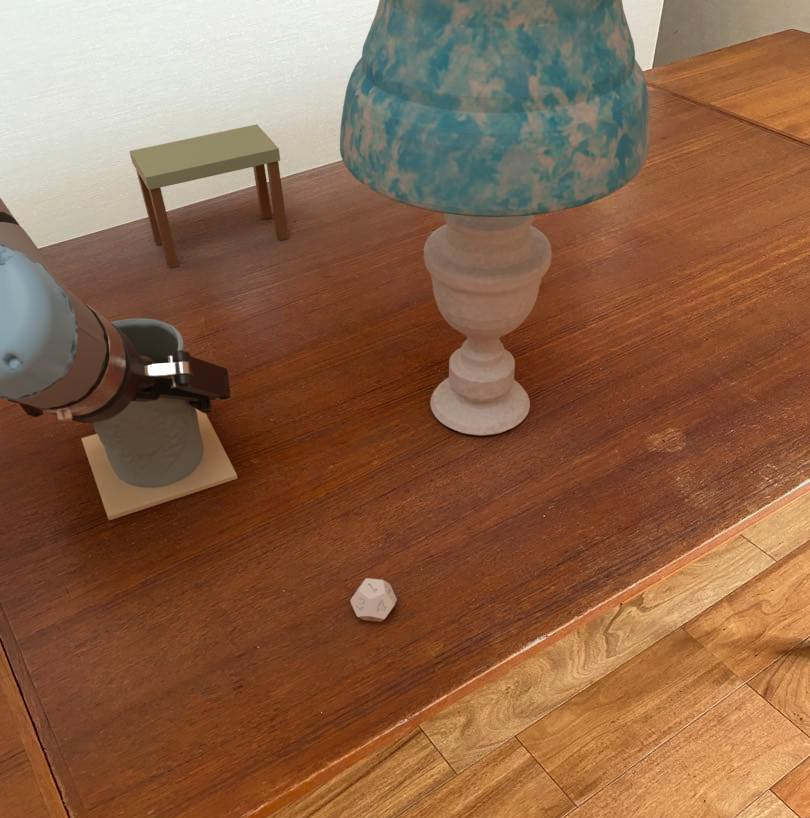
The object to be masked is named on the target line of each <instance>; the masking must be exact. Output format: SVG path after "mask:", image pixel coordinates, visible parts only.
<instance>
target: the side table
mask: <svg viewBox="0 0 810 818" xmlns="http://www.w3.org/2000/svg"><path fill="white" fill-rule="evenodd" d="M129 155H130V159H131V163H132V165H133V167H134V168H135V171H136V175H137V179H138V183H139V186H140V191H141V194H142V198H143V202H144V206H145V211H146V213H147V217H148V222H149V225H150V230H151V234H152V237H153V242H154V243H155V245H156V246H160V245H162V249H163V252H164V256H165V260H166V264H167V266H168V268H169V269H173V268H177V267H180V264H179V259H178V256H177V251H176V247H175V242H174V238H173V235H172V231H171V230H172V229H171V226H170V222H169V217H168V213H167V209H166V205H165V200H164V198H163V193H162V189H161V188H164V187H168V186H169V187H170V186H173V185H178V184H182V183H183V184H184V183H187V182H191V181H195V180H200V179H201V180H202V179H205V178H209V177H214V176H218V175H223V174H227V173H231V172H236V171H240V170H241V171H242V170H246V169H249V168H253V175H254V181H255V187H256V188H255V189H256V194H257V201H258V207H259V212H260V217H261V218H262V219H263V220H267V219H271V218H273V219H274V225H275V232H276V237H277V239H278V240H279V241H285V240H288V239H289V230H288V224H287V216H286V215H287V214H286V209H285V201H284V193H283V186H282V185H283V184H282V179H281V172H280V171H281V170H280V163H279V162H280V161H281V154H280V148H279V147H278V146H277V144H276V143H275V142H273V140H272V139H271V138H270V137H269V136H268V134H267V133H266V132H265V131H264V130H263V129H262V128H261V127H260V126H259V125H258V124H252V125H251V124H250V125H247V126H242V127H239V128H232V129H228V130H227V129H226V130H224V131H219V132H214V133H208V134H204V135H199V136H195V137H189V138H184V139H180V140H176V141H170V142H166V143H160V144H156V145H151V146H146V147H143V148H138V149H133V150H129ZM265 165H266V166H265ZM266 170H267V173H266ZM267 177H268V180H267ZM268 184H269V187H268ZM269 192H270V194H269ZM270 197H271V200H270ZM271 204H272V207H271ZM272 211H273V213H272ZM159 244H160V245H159Z"/></svg>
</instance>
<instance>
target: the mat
mask: <svg viewBox="0 0 810 818" xmlns="http://www.w3.org/2000/svg"><path fill="white" fill-rule="evenodd" d="M195 409H196V408H195ZM196 412H197V417H198V422H199V428H200V433H201V437H202V442H203V456H202V459H201V462H200V464H199V465H198V466H197V468H196V469H195V470H194V471H193V472H192V473H191V474H189V475H188V476H187V477H185V478H183V479H182V480H180V481H177V482H175V483H172V484H170V485H166V486H162V487H153V488H151V487H149V488H147V487H138V486H134V485H130V484H128V483H125V482H124V481H123V480H120V479H119V477H118V476H117V475H116V473H115V472H114V470H113V468H112V466H111V464H110V462H109V460H108V457H107V454H106V451H105V448H104V446H103V444H102V442H101V441H100V438H99V436H98V434H97V433H93V434H91V435H87V436H84V437H81V438H80V439H81V442H82V445H83V448H84V451H85V454H86V457H87V460H88V463H89V466H90V469H91V472H92V474H93V477H94V481H95V484H96V488H97V489H98V493H99V495H100V498H101V502H102V504H103V508H104V511H105V513H106V516H107V519H108V521H111V520H115V519H118V518H121V517H125V516H128V515H130V514H134V513H136V512H139V511H142V510H145V509H149V508H152V507H155V506H158V505H161V504H164V503H168V502H171V501H173V500H176V499H180V498H183V497H186V496H189V495H191V494H194V493H198V492H201V491H204V490H207V489H211V488H214V487H216V486H219V485H223V484H226V483H228V482H232V481H234V480H237V479H238V474H237V472H236V470H235V468H234V466H233V464H232V463H231V460H230V458H229V456H228V455H227V453H226V451H225V448H224V446H223V445H222V443H221V440H220V439H219V437H218V434H217V433H216V431H215V429H214V427H213V424H212V423H211V421H210V419H209V416H208V415H207V413H202V412H201V411H199V410H197V409H196Z"/></svg>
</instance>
